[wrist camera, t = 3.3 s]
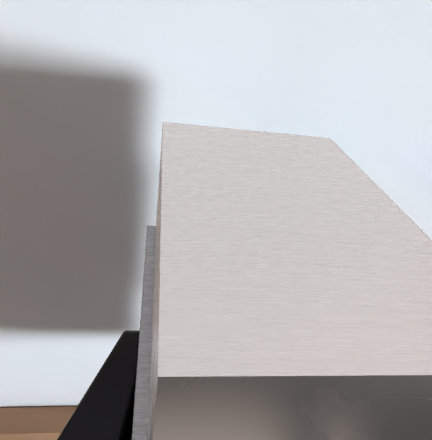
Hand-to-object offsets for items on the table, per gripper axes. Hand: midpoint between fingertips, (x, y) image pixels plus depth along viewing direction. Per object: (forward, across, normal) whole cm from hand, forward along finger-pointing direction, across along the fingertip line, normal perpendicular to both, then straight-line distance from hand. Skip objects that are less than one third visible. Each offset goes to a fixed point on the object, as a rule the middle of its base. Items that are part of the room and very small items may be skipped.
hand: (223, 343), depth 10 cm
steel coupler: (+1, 0, 0) cm, 1 cm away
